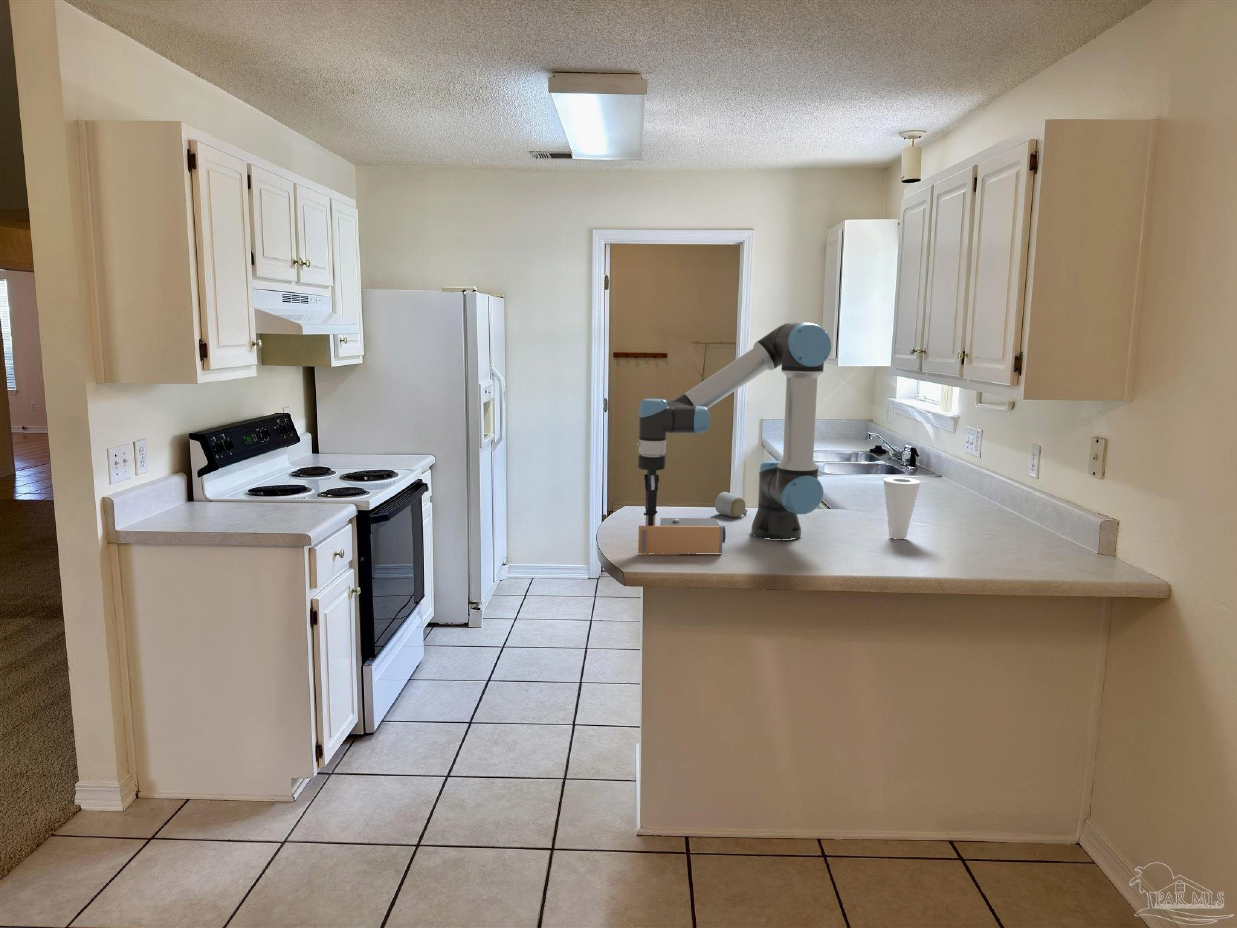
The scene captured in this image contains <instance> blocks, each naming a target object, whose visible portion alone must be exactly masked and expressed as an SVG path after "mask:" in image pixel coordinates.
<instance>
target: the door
mask: <svg viewBox="0 0 1237 928" xmlns="http://www.w3.org/2000/svg"><path fill="white" fill-rule="evenodd" d="M723 526H724V525H720V526H660V525H655V526H645V525H638V538H637V539H638V541H637V543H638V544H637V545H638V547H637V548H638V549H637V553H642V554H641V555H650V554H649V553H654V554H653V555H679V554H688V553H689V554H696V553H722V554H723V543H722V542H723ZM644 553H645V554H644ZM662 553H663V554H662Z"/></svg>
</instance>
